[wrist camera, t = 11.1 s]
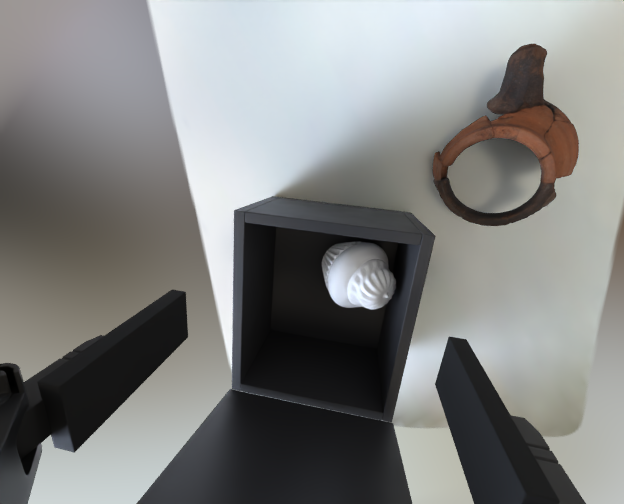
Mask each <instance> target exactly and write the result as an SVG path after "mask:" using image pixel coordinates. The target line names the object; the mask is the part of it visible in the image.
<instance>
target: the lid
mask: <svg viewBox="0 0 624 504" xmlns="http://www.w3.org/2000/svg"><path fill="white" fill-rule="evenodd" d="M137 504H412V500H411V496H410V492H409V488H408V484H407V479H406V475H405V471H404V467H403V463H402V459H401V455H400V450H399V446H398V442H397V438H396V434H395V430H394V425H393V423H390V422H385V421H380V420H375V419H371V418H366V417H361V416H356V415H351V414H347V413H342V412H337V411H332V410H327V409H323V408H318V407H313V406H308V405H304V404H299V403H294V402H289V401H284V400H280V399H275V398H270V397H265V396H260V395H256V394H251V393H246V392H241V391H236V390H232V389H230V390H229V391H228V392H227V394H226V395H225V396H224V397H223V398H222V400H221V401H220V402H219V403H218V405H217V406H216V407H215V408H214V409H213V411H212V412H211V413H210V414H209V416H208V417H207V418H206V419H205V421H204V422H203V423H202V424H201V426H200V427H199V428H198V429H197V430H196V432H195V433H194V434H193V435H192V436H191V438H190V439H189V440H188V441H187V443H186V444H185V445H184V446H183V448H182V449H181V450H180V451H179V453H178V454H177V455H176V456H175V457H174V459H173V460H172V461H171V462H170V463H169V465H168V466H167V467H166V468H165V470H164V471H163V472H162V473H161V474H160V476H159V477H158V478H157V479H156V481H155V482H154V483H153V484H152V485H151V487H150V488H149V489H148V490H147V492H146V493H145V494H144V495H143V497H142V498H141V499H140V500H139V501H138V503H137Z"/></svg>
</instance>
